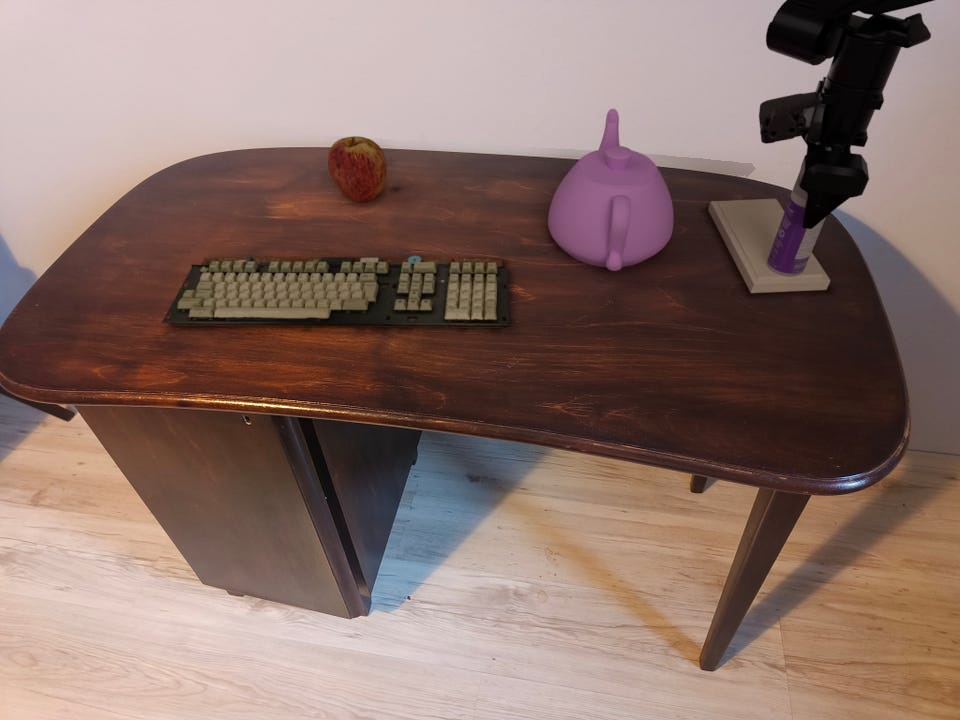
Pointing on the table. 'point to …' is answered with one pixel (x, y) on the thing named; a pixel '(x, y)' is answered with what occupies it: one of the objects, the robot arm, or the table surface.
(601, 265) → the teapot
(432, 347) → the table surface
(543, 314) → the table surface
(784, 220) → the container
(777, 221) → the tile
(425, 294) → the keyboard
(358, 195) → the apple
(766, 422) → the table surface
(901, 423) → the table surface
